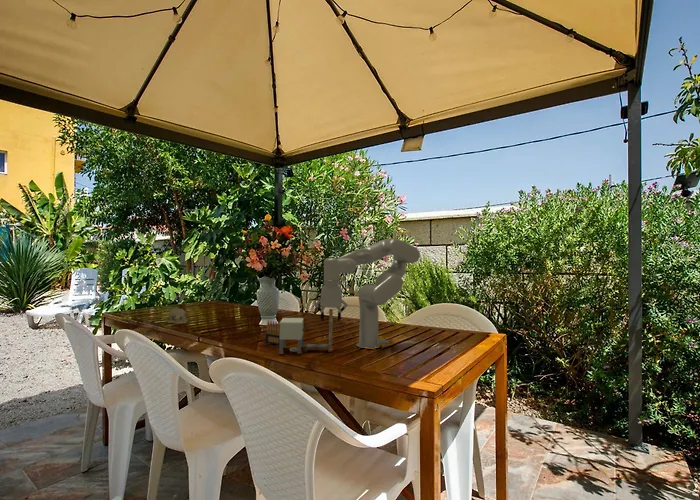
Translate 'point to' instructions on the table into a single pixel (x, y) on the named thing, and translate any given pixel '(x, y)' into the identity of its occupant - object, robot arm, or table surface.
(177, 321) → the ceramic model
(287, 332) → the cabinet
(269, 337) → the ammunition clip
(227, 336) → the table surface
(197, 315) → the table surface
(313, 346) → the hook scraper
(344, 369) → the table surface
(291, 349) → the steel disc
